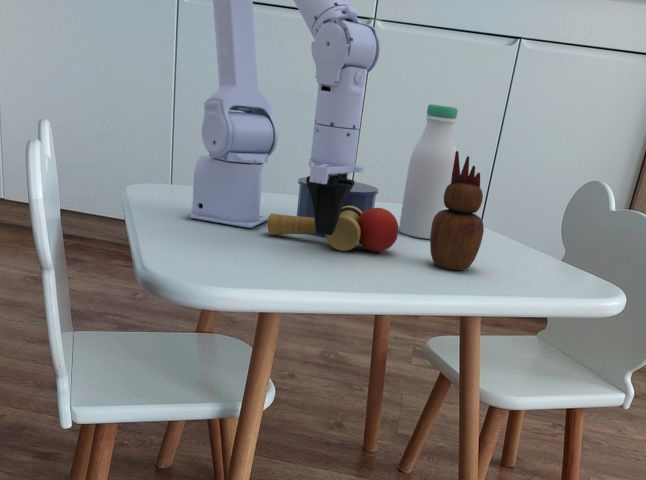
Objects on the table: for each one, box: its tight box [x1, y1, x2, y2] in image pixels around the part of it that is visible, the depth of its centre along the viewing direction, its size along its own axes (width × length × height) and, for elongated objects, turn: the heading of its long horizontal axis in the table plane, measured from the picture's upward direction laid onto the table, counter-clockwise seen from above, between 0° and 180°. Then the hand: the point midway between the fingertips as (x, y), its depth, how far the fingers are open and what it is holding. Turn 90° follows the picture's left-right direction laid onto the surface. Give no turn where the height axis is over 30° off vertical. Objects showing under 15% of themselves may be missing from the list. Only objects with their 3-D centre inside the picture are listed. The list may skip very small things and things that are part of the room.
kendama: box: [267, 206, 399, 253], centre depth 95 cm, size 8×6×18 cm
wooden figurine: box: [429, 150, 485, 271], centre depth 90 cm, size 7×6×15 cm
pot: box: [296, 184, 377, 238], centre depth 104 cm, size 11×11×6 cm
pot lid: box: [297, 174, 379, 196], centre depth 103 cm, size 12×12×4 cm
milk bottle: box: [398, 103, 458, 240], centre depth 108 cm, size 8×8×20 cm
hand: (324, 233), depth 90 cm, fingers closed
